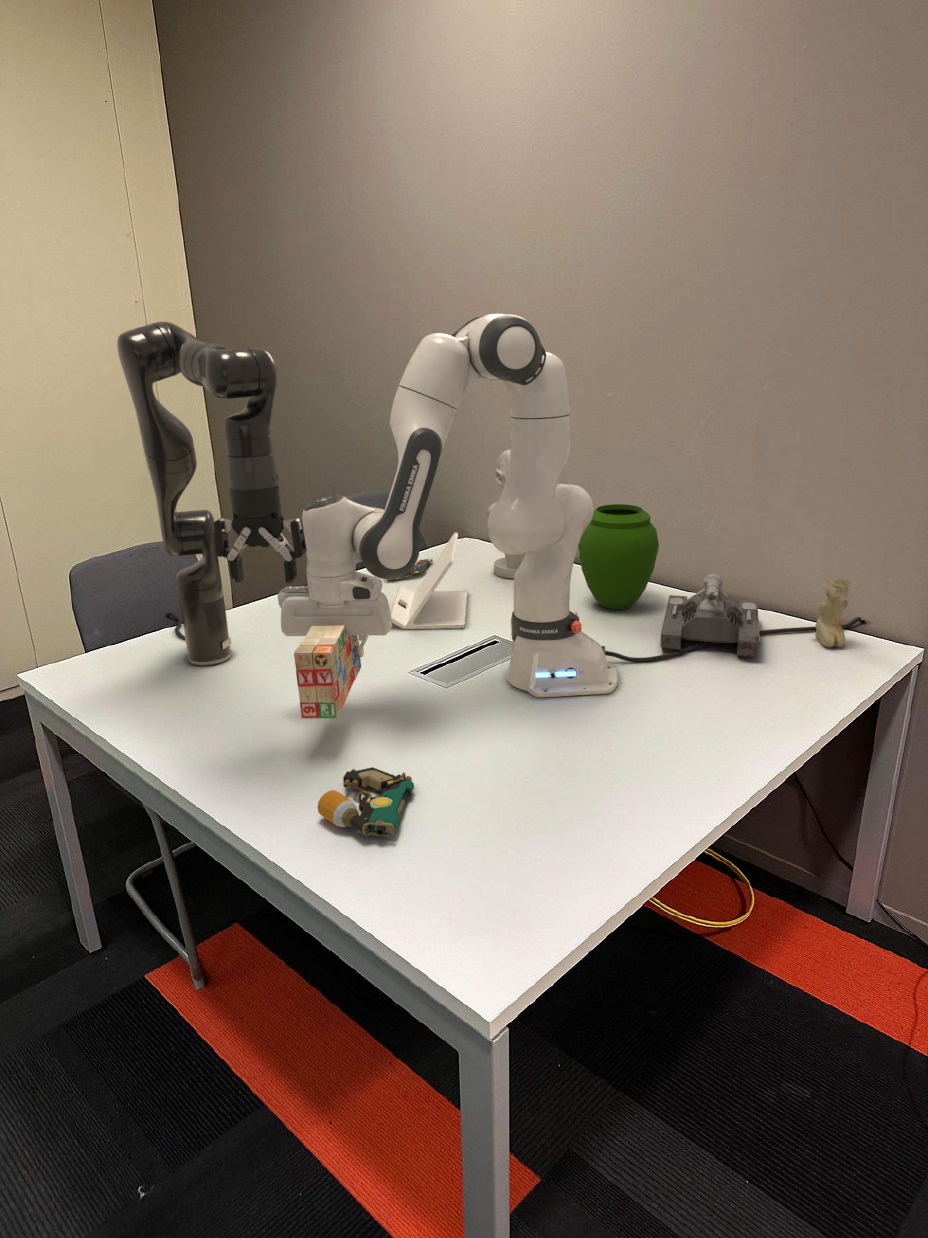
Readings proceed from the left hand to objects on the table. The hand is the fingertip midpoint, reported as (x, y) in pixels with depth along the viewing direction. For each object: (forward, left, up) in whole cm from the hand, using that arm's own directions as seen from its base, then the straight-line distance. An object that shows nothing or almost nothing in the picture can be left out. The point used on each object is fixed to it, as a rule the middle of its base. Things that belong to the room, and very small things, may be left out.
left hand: (265, 581), depth 139 cm
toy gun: (-74, +72, -31) cm, 108 cm away
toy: (+11, +98, -31) cm, 104 cm away
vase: (-17, +97, -31) cm, 104 cm away
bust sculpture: (-51, +95, -31) cm, 112 cm away
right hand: (-7, +15, -20) cm, 26 cm away
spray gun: (+26, +3, -31) cm, 41 cm away
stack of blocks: (-2, +11, -24) cm, 26 cm away
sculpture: (+30, +115, -31) cm, 123 cm away
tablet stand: (-43, +58, -31) cm, 79 cm away
